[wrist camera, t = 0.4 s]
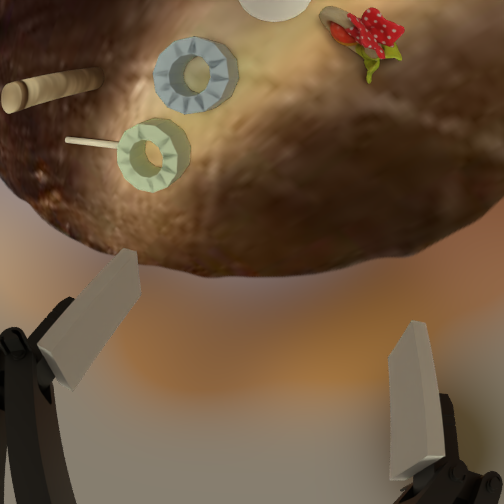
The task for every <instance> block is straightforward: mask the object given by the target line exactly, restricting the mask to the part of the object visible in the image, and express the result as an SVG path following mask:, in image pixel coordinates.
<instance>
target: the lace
mask: <svg viewBox="0 0 504 504" xmlns="http://www.w3.org/2000/svg"><path fill="white" fill-rule="evenodd" d="M65 142H66V143H73V144H82V145H91V146H99V147H107V148H114V149H117V145H118V143H119V142H113V141H105V140H96V139H86V138H76V137H66V138H65Z"/></svg>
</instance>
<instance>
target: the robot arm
mask: <svg viewBox="0 0 504 504" xmlns="http://www.w3.org/2000/svg"><path fill="white" fill-rule="evenodd" d="M140 296H141V287H140V279H139V270H138V261H137V252H136V251H132V250H129V249H125V248H123V249H122V250H121V251H120V252H119V253H118V254H117V255H116V256H115V257H114V258H113V259H112V260H111V261H110V262H109V263H108V265H106V266H105V267H104V269H103V270H102V271H101V272H100V273H99V274H98V275H97V276H96V277H95V278H94V279H93V280H92V281H91V282H90V283H89V285H88V286H87V287H86V288H85V289H84V290H83V291H82V292H81V293H80V294H79V295H78V297H77V298H76V299H74V298H72V297H68V298H66V299H64V300H62V301H61V302H60V303H58V305H57V306H56V307H55V308H54V309H53V311H52V312H50V313H49V314H48V316H47V318H45V319H44V320H43V322H41V324H40V325H39V326H38V327H37V328H36V329H35V331H34V332H33V333H32V334H31V335H30V336H29V338H28V339H27V338H26V336H25V334H24V332H23V331H22V330H21V329H20V328H17V327H11V328H8V329H6V330H4V331H3V332H2V333H1V335H0V504H4V476H5V462H6V451H7V447H8V456H9V463H10V470H11V477H12V483H13V488H14V493H15V498H16V502H17V504H76V500H75V497H74V493H73V490H72V486H71V483H70V478H69V475H68V471H67V466H66V462H65V457H64V452H63V447H62V443H61V437H60V431H59V425H58V419H57V412H56V404H55V397H54V387H53V383H52V381H53V379H54V378H55V377H56V379H57V381H58V382H59V384H60V385H62V386H64V387H65V388H67V389H69V390H71V391H74V390H75V388H76V386H77V385H78V384H79V382H80V381H81V379H82V377H83V376H84V375H85V373H86V371H87V370H88V369H89V367H90V366H91V364H92V363H93V361H94V360H95V358H96V357H97V356H98V354H99V353H100V351H101V350H102V348H103V347H104V346H105V344H106V343H107V341H108V340H109V338H110V337H111V336H112V334H113V333H114V331H115V330H116V328H117V327H118V326H119V324H120V323H121V322H122V320H123V319H124V318H125V316H126V315H127V313H128V312H129V311H130V309H131V308H132V307H133V305H134V303H136V301H137V300H138V298H139V297H140ZM388 366H389V383H390V412H391V451H390V477H389V480H407V479H408V478H410V477H412V476H413V483H411V484H409V485H407V486H405V487H403V488H402V489H401V490H400V491H404V490H405V491H404V492H403V493H402V495H401V496H400V497H399V498H398V499H397V500H396V501H395V502H394V503H393V504H498V501H499V498H500V494H501V491H502V485H503V483H502V479H501V477H500V475H499V474H498V473H497V472H494V471H490V472H487V473H486V474H484V475H480V474H477V473H474V472H471V471H468V469H467V466H466V465H465V463H464V462H463V461H461V460H460V459H459V453H458V442H457V433H456V426H455V418H454V410H453V404H452V402H451V400H450V398H449V396H448V394H441V393H439V391H438V385H437V378H436V372H435V367H434V361H433V356H432V351H431V346H430V341H429V336H428V332H427V327H426V323H423V322H419V321H414V320H412V321H411V322H410V324H409V325H408V327H407V329H406V330H405V332H404V334H403V335H402V337H401V338H400V340H399V341H398V343H397V345H396V346H395V348H394V349H393V351H392V352H391V354H390V355H389V357H388Z"/></svg>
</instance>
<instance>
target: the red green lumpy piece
mask: <svg viewBox="0 0 504 504" xmlns="http://www.w3.org/2000/svg"><path fill="white" fill-rule="evenodd" d="M319 17H320V20H321V22H322V23H323V25H324V26H325V27H326V28H327V29H328V30H329V32H330V33H331V35H332V36H333V38H334V39H335V40H336V41H337V42H338V43H340V44H342V45H345V46H347V47H348V48H350V49H351V50H353V51H354V52H356V53H358V54H359V55H360V56H362V57H363V58H364V64H365V67H366V68H367V69H368V71H367V76H366V80H367V82H368V84H369V83H371V77H372V74H373V72H374V71H375V70H377V69H378V67H379V64H380V59H385V58H396V59H397V60H398V61H401V60H402V57H401V54H400V52H399V51H398V47H397V45H396V43H395V41H396V40H397V39H398V38H399V37H400V36H401V35H402V34H403V33H404V31H405V29H404V27H403V26H401V25H398V24H396V23H394V22H391V21H388V20H386V19H385V18H384V17H383V16H382V14H381V13H380V12H379V10H377V9H376V8H369V9H367V10H366V11H365V12H364V13H363V15H362V18H357V17H356V16H354V15H353V14H351V13H348V12H347V11H344V10H342V9H340V8H337V7H333V6H327V7H325V8H324V9H323V10H322V11H321V12H320V14H319Z"/></svg>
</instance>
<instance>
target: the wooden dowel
mask: <svg viewBox="0 0 504 504" xmlns="http://www.w3.org/2000/svg"><path fill="white" fill-rule="evenodd" d="M103 81H104V73H103V71H102V69H100V68H99V67H91V68H84V69H77V70H70V71H64V72H59V73H53V74H48V75H43V76H38V77H34V78H29V79H25V80H19V81H15V82H12V83H9V84H7V85H5V87H4V88H3V91H2V95H1V102H2V107H3V109H4V111H5V112H6V113H13V112H17V111H20V110H22V109H24V108H27V107H31V106H34V105H37V104H40V103H44V102H47V101H51V100H54V99H58V98H62V97H65V96H69V95H73V94H77V93H82V92H86V91H90V90H95V89H98V88H100V87H101V85H102V84H103Z"/></svg>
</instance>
